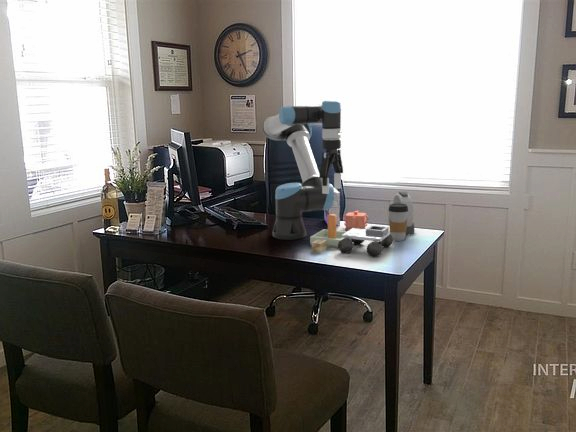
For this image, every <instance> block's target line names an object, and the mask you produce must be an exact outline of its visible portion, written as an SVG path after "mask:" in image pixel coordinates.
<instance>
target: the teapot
mask: <svg viewBox="0 0 576 432" xmlns="http://www.w3.org/2000/svg"><path fill="white" fill-rule="evenodd" d="M342 219H343V221H344V222H343V223H344V224H343V225H344V226H345V230H348V231H349V230H350V229H352V228H358V229H366V228H367V226H368V223H367V222H368V221H369V215H367V213H366V212H359V210H356V211H353V212H347V213H346V214H344V215H343V216H342Z"/></svg>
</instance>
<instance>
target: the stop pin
mask: <svg viewBox="0 0 576 432" xmlns="http://www.w3.org/2000/svg"><path fill="white" fill-rule="evenodd" d="M327 230H328V238H332V239H336V231H337V226H336V214H329V215H328V224H327Z"/></svg>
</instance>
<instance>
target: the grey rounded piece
mask: <svg viewBox="0 0 576 432" xmlns="http://www.w3.org/2000/svg"><path fill="white" fill-rule="evenodd" d="M392 201H393V202H392V204H395V203H400V204H406V205H407V207H408V214H407V227H406V235H408V234H410V235H414V234H415V223H414V222H413V220H414V205H413V199H412V197H411V195H410V194H409V193H408V192H407V191H398V193H396V194H395V195H394V197H393V200H392ZM406 235H405V236H406ZM408 236H409V235H408Z"/></svg>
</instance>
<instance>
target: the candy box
mask: <svg viewBox="0 0 576 432" xmlns="http://www.w3.org/2000/svg"><path fill="white" fill-rule="evenodd" d="M333 188H334V187H333ZM323 211H324V212H323V213H324V214H323V215H324V218H323V219H324V221H325V223H326V224H327V225H328V215H329V214H336V227H339V226H340V225H341V224H340V222H341V219H340V218H341V216H340V215H341V213H340V212H341V192H340V191H338V189H336V188H334V201H333V205H332V207H331V208H330V209H325V210H323Z"/></svg>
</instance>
